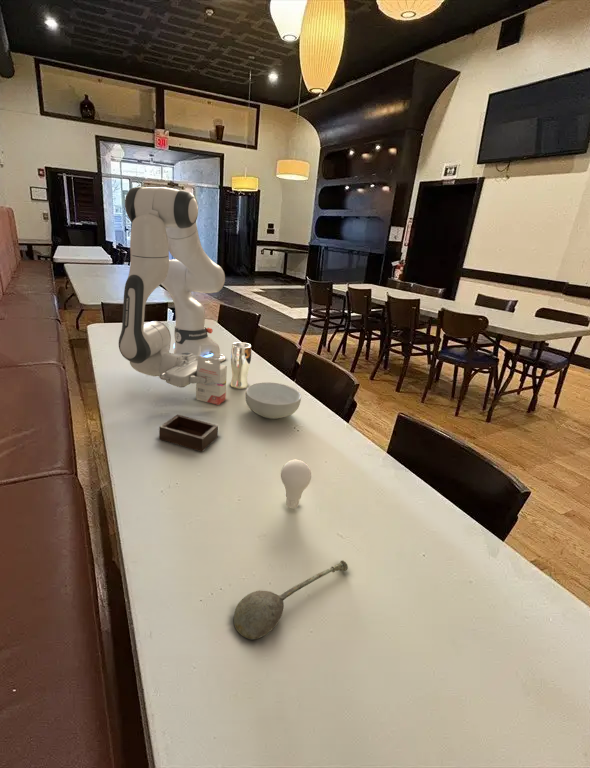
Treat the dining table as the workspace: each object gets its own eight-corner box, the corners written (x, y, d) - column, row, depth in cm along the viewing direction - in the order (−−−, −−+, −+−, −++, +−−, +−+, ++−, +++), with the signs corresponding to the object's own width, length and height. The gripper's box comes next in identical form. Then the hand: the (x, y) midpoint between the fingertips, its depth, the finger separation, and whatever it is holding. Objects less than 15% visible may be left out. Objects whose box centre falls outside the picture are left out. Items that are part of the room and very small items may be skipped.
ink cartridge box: (226, 400, 133) (228, 356, 128) (218, 405, 129) (221, 361, 124) (202, 394, 136) (204, 351, 131) (195, 399, 132) (196, 355, 127)
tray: (177, 425, 115) (177, 414, 113) (217, 437, 111) (218, 425, 109) (159, 439, 107) (159, 426, 106) (201, 451, 103) (202, 439, 102)
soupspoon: (224, 615, 62) (248, 653, 57) (225, 600, 60) (250, 637, 56) (331, 555, 74) (358, 583, 69) (334, 541, 72) (362, 568, 67)
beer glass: (249, 383, 149) (253, 343, 143) (247, 390, 142) (250, 348, 137) (230, 381, 149) (233, 341, 144) (227, 388, 143) (230, 346, 137)
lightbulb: (272, 501, 87) (277, 456, 83) (297, 496, 89) (303, 452, 85) (285, 520, 82) (291, 472, 78) (311, 513, 84) (319, 467, 80)
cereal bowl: (269, 431, 116) (272, 408, 113) (233, 409, 127) (234, 388, 125) (310, 417, 127) (313, 395, 124) (273, 398, 138) (275, 378, 135)
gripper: (156, 367, 124) (196, 376, 119) (191, 350, 142) (227, 358, 137) (156, 386, 126) (195, 396, 122) (191, 368, 144) (226, 376, 139)
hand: (213, 376), depth 130 cm, fingers open, 8 cm apart
